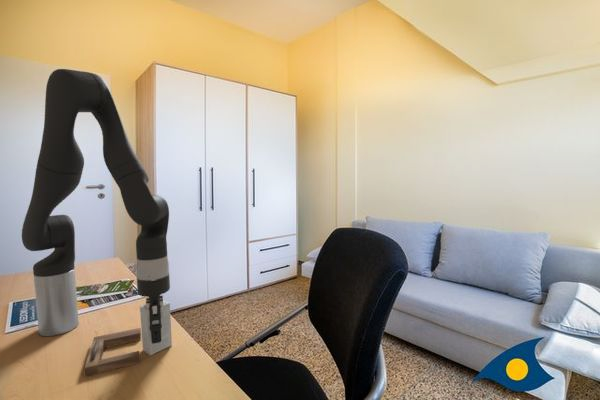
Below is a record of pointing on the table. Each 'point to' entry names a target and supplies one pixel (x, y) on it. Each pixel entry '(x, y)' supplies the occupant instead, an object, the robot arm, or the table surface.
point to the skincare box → (165, 330)
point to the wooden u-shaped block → (100, 365)
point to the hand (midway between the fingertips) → (156, 333)
